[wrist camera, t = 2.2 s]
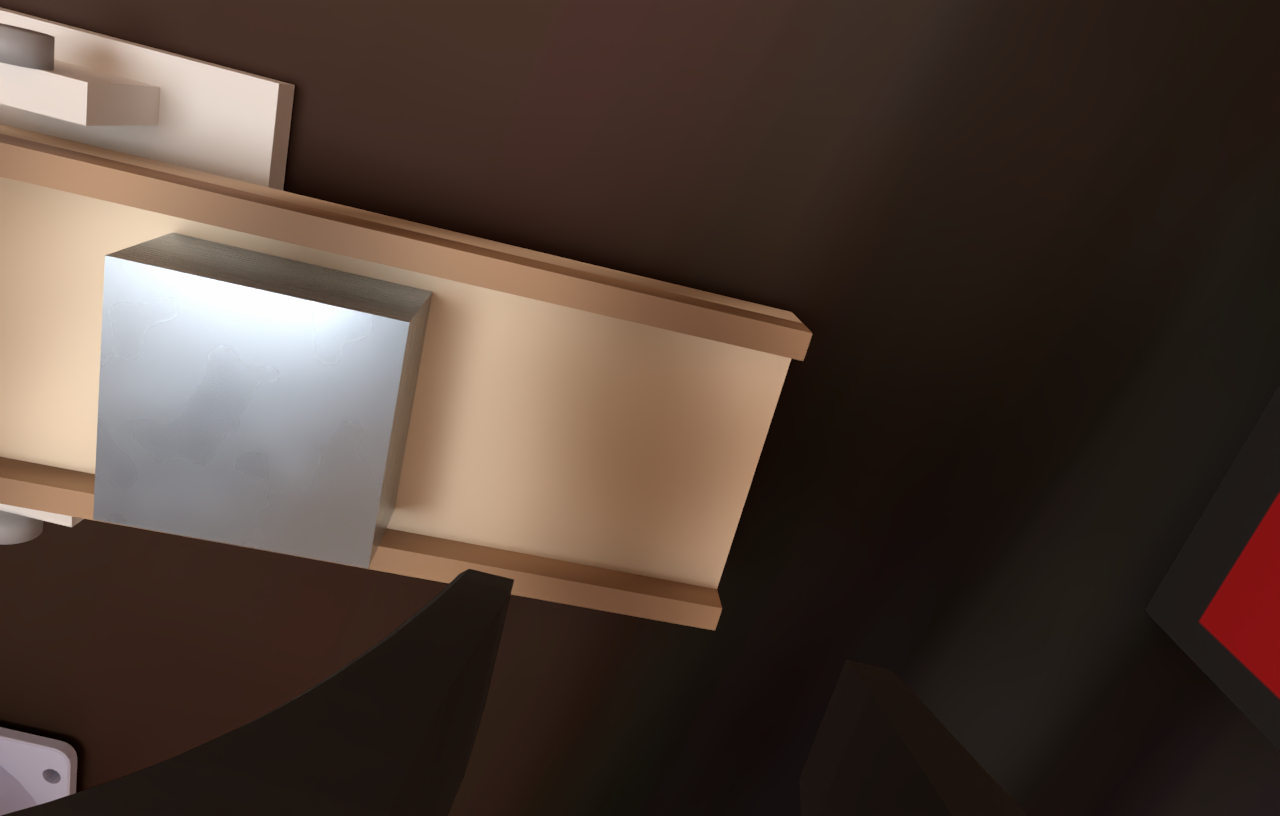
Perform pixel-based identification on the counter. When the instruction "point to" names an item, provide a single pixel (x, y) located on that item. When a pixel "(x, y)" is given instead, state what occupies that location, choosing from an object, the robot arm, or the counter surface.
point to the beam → (428, 380)
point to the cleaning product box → (1234, 581)
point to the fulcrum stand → (136, 123)
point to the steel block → (254, 398)
